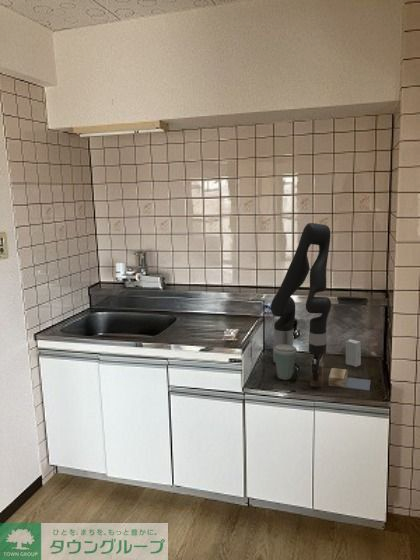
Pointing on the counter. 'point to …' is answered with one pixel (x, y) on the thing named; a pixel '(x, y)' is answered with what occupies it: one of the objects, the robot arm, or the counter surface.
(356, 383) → the rubber mat
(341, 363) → the counter surface
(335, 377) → the beech step
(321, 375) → the walnut block
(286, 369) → the disposable coffee cup
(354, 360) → the skincare box
